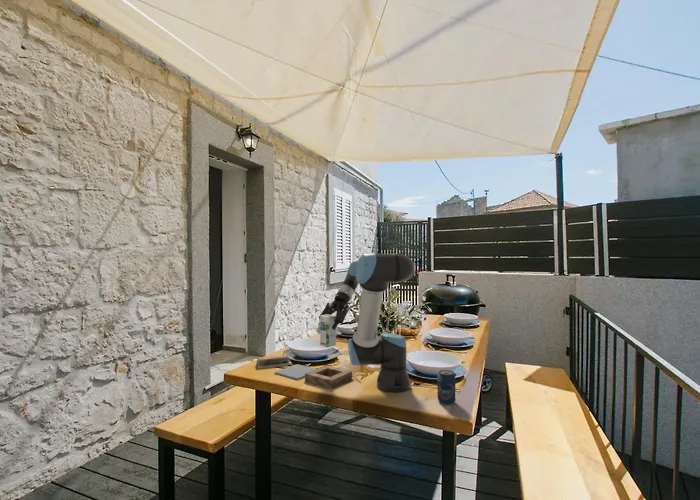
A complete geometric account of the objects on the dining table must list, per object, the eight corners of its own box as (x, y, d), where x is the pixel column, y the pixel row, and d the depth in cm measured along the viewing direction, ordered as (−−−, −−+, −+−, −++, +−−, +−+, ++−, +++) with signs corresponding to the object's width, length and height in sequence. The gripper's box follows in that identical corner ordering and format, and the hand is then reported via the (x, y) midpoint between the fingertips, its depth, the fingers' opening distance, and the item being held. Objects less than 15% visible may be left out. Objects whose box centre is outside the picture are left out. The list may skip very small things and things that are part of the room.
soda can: (438, 405, 138) (438, 374, 138) (436, 398, 145) (436, 369, 145) (456, 406, 137) (456, 375, 137) (454, 399, 143) (454, 369, 144)
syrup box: (319, 345, 168) (319, 315, 168) (328, 343, 172) (328, 313, 172) (327, 347, 164) (327, 316, 164) (336, 345, 168) (336, 315, 168)
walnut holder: (352, 378, 168) (352, 371, 168) (331, 388, 155) (331, 380, 155) (326, 372, 178) (326, 365, 178) (305, 381, 165) (305, 373, 165)
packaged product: (258, 360, 183) (256, 356, 192) (258, 370, 183) (256, 364, 192) (292, 357, 190) (288, 352, 199) (292, 366, 189) (288, 361, 199)
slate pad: (319, 371, 179) (319, 369, 179) (297, 380, 166) (297, 378, 166) (297, 365, 189) (297, 364, 189) (274, 373, 176) (274, 371, 176)
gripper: (362, 301, 175) (342, 340, 161) (332, 299, 186) (311, 335, 173) (356, 292, 171) (335, 331, 157) (326, 289, 182) (304, 326, 169)
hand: (323, 333), depth 165 cm, fingers closed on syrup box, 6 cm apart
